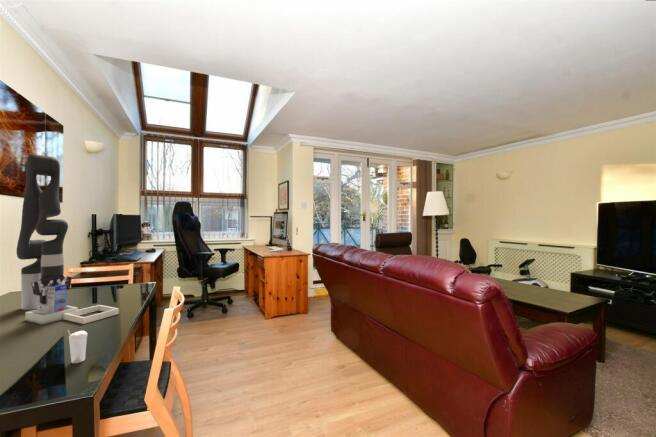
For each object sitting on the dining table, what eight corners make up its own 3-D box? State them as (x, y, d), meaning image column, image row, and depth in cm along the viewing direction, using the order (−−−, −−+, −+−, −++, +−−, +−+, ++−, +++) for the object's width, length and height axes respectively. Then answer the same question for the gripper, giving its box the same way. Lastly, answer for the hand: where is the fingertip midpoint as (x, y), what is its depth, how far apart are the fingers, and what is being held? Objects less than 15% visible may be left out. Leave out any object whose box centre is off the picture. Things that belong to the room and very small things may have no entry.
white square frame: (63, 319, 133) (63, 313, 133) (99, 309, 147) (99, 304, 147) (83, 324, 128) (83, 318, 128) (118, 313, 141) (118, 308, 141)
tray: (25, 320, 132) (25, 312, 132) (61, 311, 144) (61, 304, 144) (42, 324, 127) (42, 316, 127) (77, 315, 139) (77, 307, 139)
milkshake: (73, 358, 97) (73, 326, 97) (90, 357, 98) (91, 326, 98) (61, 364, 93) (61, 332, 93) (80, 364, 93) (80, 331, 93)
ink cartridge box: (67, 311, 137) (67, 279, 137) (54, 315, 132) (54, 281, 132) (50, 309, 139) (50, 278, 139) (36, 313, 134) (36, 280, 134)
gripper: (66, 261, 143) (66, 297, 143) (26, 266, 130) (26, 305, 130) (76, 262, 140) (76, 299, 141) (36, 267, 127) (36, 307, 127)
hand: (52, 302), depth 135 cm, fingers closed on ink cartridge box, 5 cm apart
